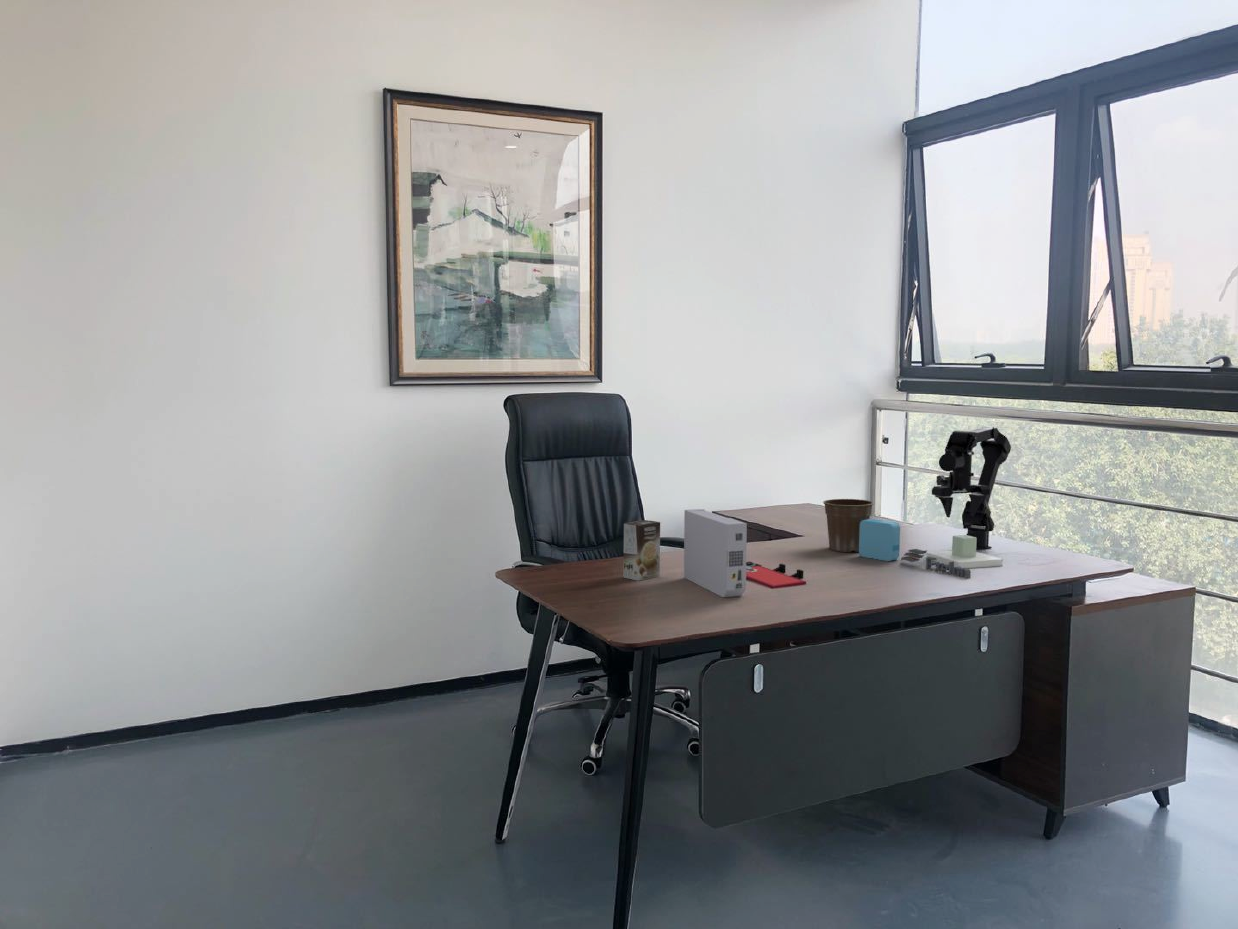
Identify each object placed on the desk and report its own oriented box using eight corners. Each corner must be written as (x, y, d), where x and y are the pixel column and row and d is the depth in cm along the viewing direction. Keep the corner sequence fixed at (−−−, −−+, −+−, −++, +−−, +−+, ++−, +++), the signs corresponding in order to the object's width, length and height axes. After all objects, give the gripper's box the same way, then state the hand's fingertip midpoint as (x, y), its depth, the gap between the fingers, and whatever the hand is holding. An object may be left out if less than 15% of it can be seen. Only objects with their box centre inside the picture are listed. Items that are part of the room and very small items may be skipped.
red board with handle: (755, 563, 287) (714, 569, 280) (755, 554, 287) (714, 560, 280) (816, 584, 260) (773, 591, 254) (816, 575, 260) (773, 581, 253)
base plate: (968, 555, 299) (968, 549, 298) (1002, 565, 283) (1002, 559, 283) (926, 558, 294) (926, 552, 294) (958, 568, 279) (958, 562, 279)
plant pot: (815, 550, 307) (816, 502, 305) (831, 543, 320) (832, 497, 319) (863, 556, 298) (865, 506, 297) (878, 548, 312) (879, 500, 310)
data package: (899, 560, 292) (900, 522, 291) (891, 562, 289) (893, 524, 288) (866, 554, 301) (867, 518, 299) (858, 556, 298) (859, 519, 296)
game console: (702, 576, 268) (702, 508, 266) (746, 598, 243) (747, 523, 241) (683, 578, 266) (684, 509, 264) (726, 599, 241) (727, 524, 239)
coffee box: (638, 581, 262) (638, 525, 260) (622, 577, 267) (622, 522, 265) (660, 576, 268) (660, 521, 267) (644, 573, 273) (644, 519, 271)
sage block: (965, 553, 292) (966, 535, 291) (975, 556, 287) (976, 537, 286) (951, 554, 290) (952, 535, 290) (962, 557, 285) (963, 538, 285)
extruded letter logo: (900, 564, 287) (901, 546, 287) (904, 563, 288) (904, 545, 288) (966, 579, 266) (967, 560, 265) (970, 578, 267) (971, 559, 266)
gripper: (970, 466, 311) (968, 512, 312) (922, 467, 306) (920, 514, 307) (992, 469, 300) (990, 516, 302) (943, 471, 295) (941, 519, 296)
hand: (960, 516), depth 302 cm, fingers open, 9 cm apart
